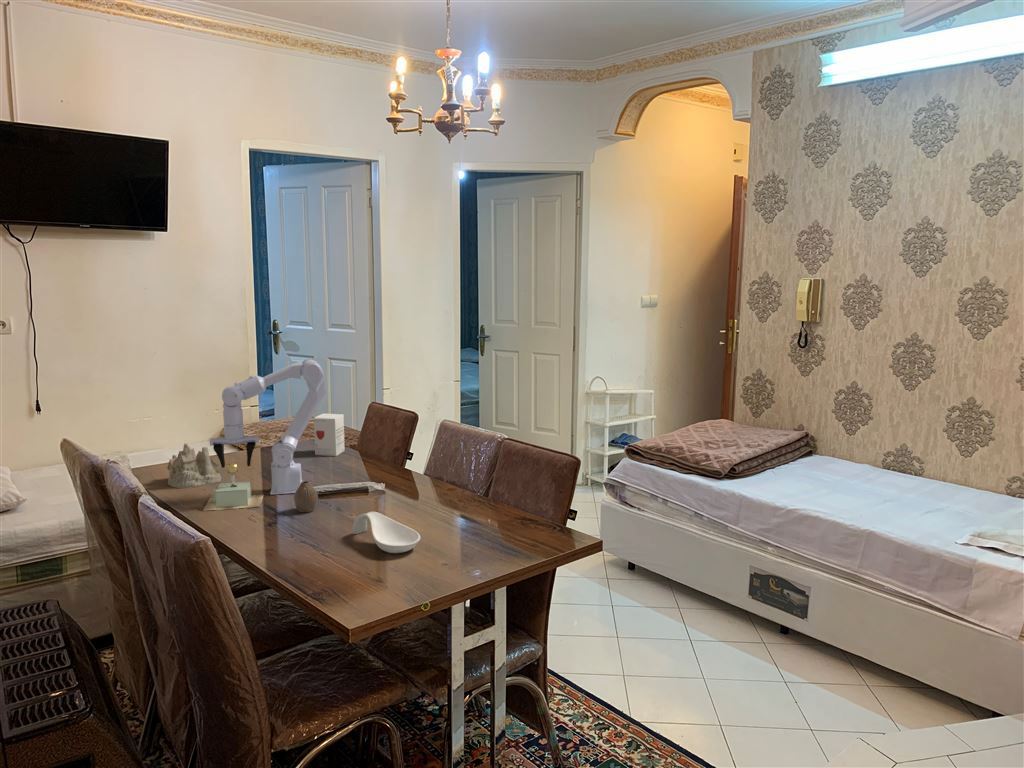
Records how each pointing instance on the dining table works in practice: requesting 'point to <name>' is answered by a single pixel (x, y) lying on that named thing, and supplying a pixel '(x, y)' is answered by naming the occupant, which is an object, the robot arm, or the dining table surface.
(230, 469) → the gold rounded piece
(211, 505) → the cork mat
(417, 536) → the spoon rest
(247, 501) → the mint green slotted box
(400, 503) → the dining table surface
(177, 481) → the sand castle
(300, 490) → the vase
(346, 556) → the dining table surface
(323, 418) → the supplement box
